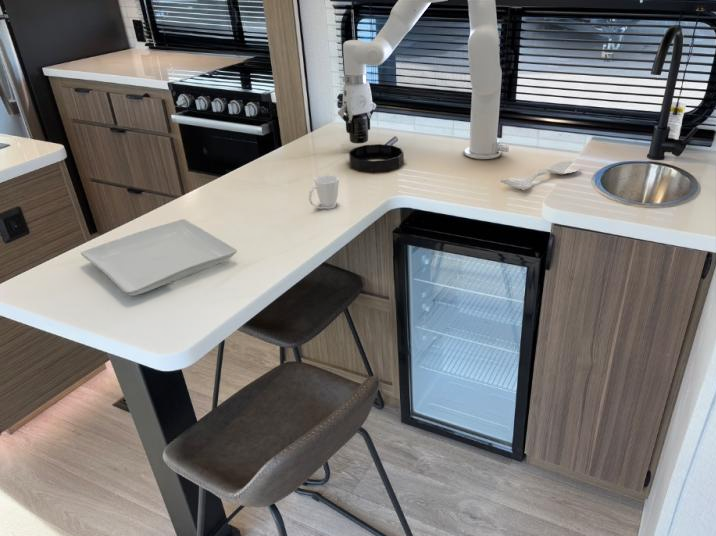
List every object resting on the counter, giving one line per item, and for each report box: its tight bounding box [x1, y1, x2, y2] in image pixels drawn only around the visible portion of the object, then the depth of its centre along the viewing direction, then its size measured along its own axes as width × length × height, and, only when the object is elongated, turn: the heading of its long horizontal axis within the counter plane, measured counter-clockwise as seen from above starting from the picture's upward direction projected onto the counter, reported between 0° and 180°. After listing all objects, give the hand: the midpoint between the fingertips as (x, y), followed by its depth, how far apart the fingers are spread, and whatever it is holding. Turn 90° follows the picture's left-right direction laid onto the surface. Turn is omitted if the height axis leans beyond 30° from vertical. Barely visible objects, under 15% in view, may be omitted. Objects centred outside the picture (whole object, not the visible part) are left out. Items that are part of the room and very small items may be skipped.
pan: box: [348, 135, 405, 174], centre depth 209 cm, size 18×28×4 cm, turn 160°
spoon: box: [499, 160, 574, 191], centre depth 188 cm, size 9×32×4 cm, turn 130°
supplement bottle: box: [348, 113, 369, 144], centre depth 215 cm, size 7×7×12 cm
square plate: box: [80, 218, 238, 296], centre depth 144 cm, size 27×27×4 cm
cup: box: [308, 174, 340, 210], centre depth 172 cm, size 7×10×8 cm
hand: (358, 130), depth 216 cm, fingers closed on supplement bottle, 6 cm apart
